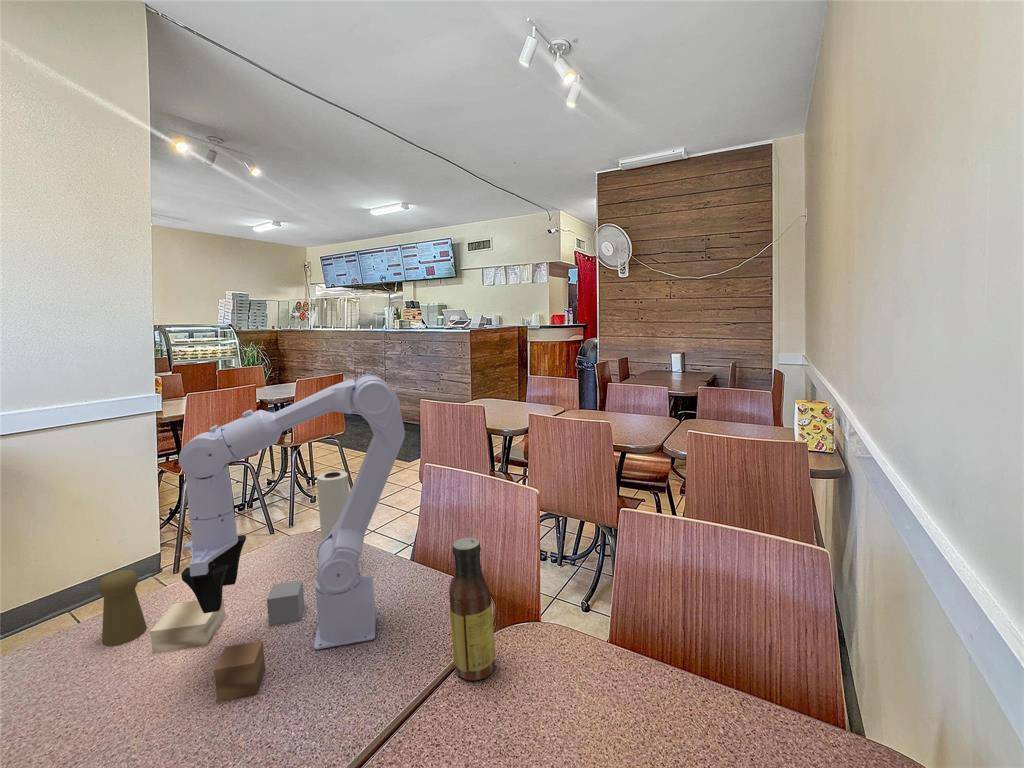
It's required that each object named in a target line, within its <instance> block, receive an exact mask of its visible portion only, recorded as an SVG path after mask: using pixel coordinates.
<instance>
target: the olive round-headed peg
mask: <svg viewBox="0 0 1024 768" xmlns="http://www.w3.org/2000/svg"><path fill="white" fill-rule="evenodd" d="M138 581H139V578H138V574H137V573H136V572H135V571H134V570H132V569H122V570H116V571H114V572H111V573H108V574H107V575H105V576H103V578H101V579H100V581H99V583H98V587H97V589H98V594H99V595H100V596H101V597H102V598H103V609H102V612H103V613H102V628H101V630H102V633H101V644H102V645H103V646H105V647H114V646H116V647H117V646H120V645H121V646H122V645H123V644H127V643H129V642H131V641H135V640H136V639H137V638H140V637H141V636H142V635H143V634H145V632H146V631H147V629H148V626H147V622H146V620H145V616H144V613H143V610H142V606H141V603H140V600H139V596H138V594H137V592H136V587H137V586H138V583H139V582H138Z"/></svg>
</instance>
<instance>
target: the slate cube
mask: <svg viewBox="0 0 1024 768" xmlns="http://www.w3.org/2000/svg"><path fill="white" fill-rule="evenodd" d="M266 603H267V604H266V605H267V615H268V616H267V617H268V626H270V627H271V626H278V625H283V624H288V623H289V624H290V623H296V622H300V621H301V618H302V615H303V611H304V608H305V596H304V584H303V580H297V581H290V582H288V581H287V582H283V583H277V584H274V583H273V584H272V587H271V588H270V591H269V593H268V596H267V598H266Z"/></svg>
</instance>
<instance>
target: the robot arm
mask: <svg viewBox="0 0 1024 768" xmlns="http://www.w3.org/2000/svg"><path fill="white" fill-rule="evenodd" d="M352 408H354V409H355V411H356V412H358V414H359V415H360V416H361V417H362V418H363V419H365V421H366V422H367V423H368V424H369V425H368V426H369V427H370V429H371V431H372V434H373V436H372V438H371V440H370V444H369V446H368V447H367V450H366V453H365V456H364V457H363V460H362V463H361V465H360V467H359V470H358V472H357V475H356V477H355V479H354V481H353V484H352V486H351V490H349V496H348V498H347V501H346V503H345V505H344V508H343V510H342V513H341V515H340V517H339V520H338V521H337V522H336V523H335V525H334V526H333V528H332V530H331V532H330V534H329V535H328V536H327V537H326V538H325V539H324V540H323V541H321V542H320V543H319V545H318V547H317V550H316V557H317V571H316V581H315V585H314V586H315V597H316V611H317V623H318V626H317V630H316V634H315V639H314V643H313V650H316V651H317V650H322V649H326V648H333V647H338V646H339V647H340V646H345V645H350V644H355V643H362V642H367V641H372V640H374V639H375V638H376V621H377V620H378V608H377V607H376V598H375V597H376V596H375V595H376V594H375V581H374V579H375V578H374V576H369V575H368V576H367V575H361V572H360V569H359V559H360V557H361V555H362V551H363V545H364V540H365V534H366V532H367V529H368V527H369V525H370V523H371V520H372V517H373V515H374V513H375V510H376V507H377V505H378V503H379V500H380V498H381V496H382V493H383V491H384V489H385V486H386V484H387V481H388V479H389V476H390V474H391V471H392V469H393V466H394V464H395V462H396V459H397V457H398V455H399V452H400V451H401V450H400V449H401V448H402V446H403V443H404V440H405V436H406V430H405V426H404V425H405V424H404V421H403V417H402V416H403V415H402V410H401V402H400V399H399V398H398V396H397V394H396V393H395V391H394V390H393V388H392V387H391V386H390V385H389V383H387V382H386V381H385V380H383V378H381V377H380V376H379V375H375V374H370V373H367V374H366V373H365V374H363V375H360V376H358V377H357V378H356V379H354V378H351V379H348V380H344V381H341V382H339V383H336V384H334V385H330V386H328V387H326V388H324V389H321V390H319V391H318V392H316V393H314V394H312V395H309V396H307V397H305V398H303V399H301V400H299V401H297V402H294V403H292V404H290V405H288V406H286V407H284V408H282V409H279V410H277V411H274V412H270V411H268V410H263V409H259V410H256V411H253V409H249V410H246V411H243V412H242V413H241V416H242V417H240V418H238V419H235V420H232V421H231V422H228V423H226V424H223V425H220V426H219V425H218V424H215V425H213V426H211V427H210V428H209V429H208V430H209V431H206V432H203V433H198V435H196V436H193V438H192V439H191V440H190V441H188V442H187V443H186V444H185V445H183V447H182V448H181V450H180V451H179V455H178V465H179V467H180V469H181V470H182V472H184V473H185V480H186V498H187V506H188V507H187V508H188V518H189V525H190V527H189V528H190V535H191V540H188V541H186V543H185V544H184V545H183V547H182V548H183V551H185V552H186V551H190V552H191V561H190V562H189V563H188V565H189V566H188V567H185V568H184V570H183V571H182V572H181V580H182V581H183V582H184V583H185V584H186V585H187V586H188V587H189V588H190V589H191V591H192V592H193V594H194V595H195V598H196V601H198V602H199V604H200V607H201V609H202V611H203V613H210V612H217V611H219V610H220V608H221V604H222V598H223V588H224V586H231V585H235V584H236V582H237V578H238V574H239V573H238V572H239V562H240V558H241V554H242V550H243V548H244V545H245V542H246V541H247V536H246V535H244V534H241V535H239V534H238V527H237V521H236V520H235V508H234V500H233V499H234V497H233V488H232V486H233V485H232V479H231V478H230V477H231V476H230V468H229V463H231V462H232V463H233V462H239V461H240V460H242V459H244V458H247V457H249V456H251V455H253V454H255V453H258V452H260V451H261V450H262V451H263V450H264V449H266V448H269V447H271V446H273V445H276V444H278V443H279V440H280V438H281V436H282V433H283V432H285V431H287V430H289V429H291V428H294V427H297V426H299V425H302V424H304V423H307V422H309V421H312V420H314V419H317V418H319V417H321V416H323V415H324V416H325V415H326V414H328V413H331V412H334V413H341V414H347V415H352Z"/></svg>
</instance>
